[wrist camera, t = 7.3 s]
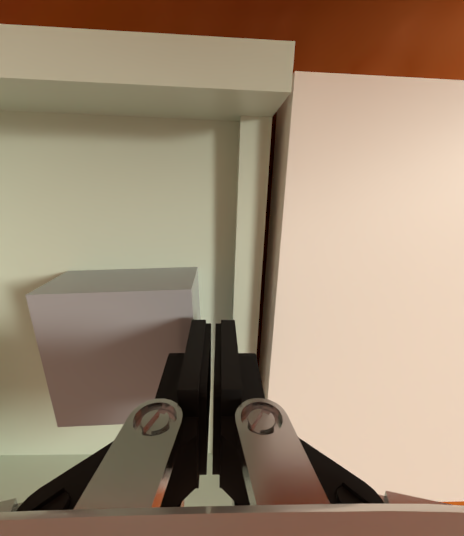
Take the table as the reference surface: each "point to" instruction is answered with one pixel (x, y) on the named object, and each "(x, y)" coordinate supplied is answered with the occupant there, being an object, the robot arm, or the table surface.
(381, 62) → the table surface
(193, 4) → the table surface
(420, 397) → the plate
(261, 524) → the robot arm
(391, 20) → the table surface
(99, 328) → the grey square block
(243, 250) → the box
